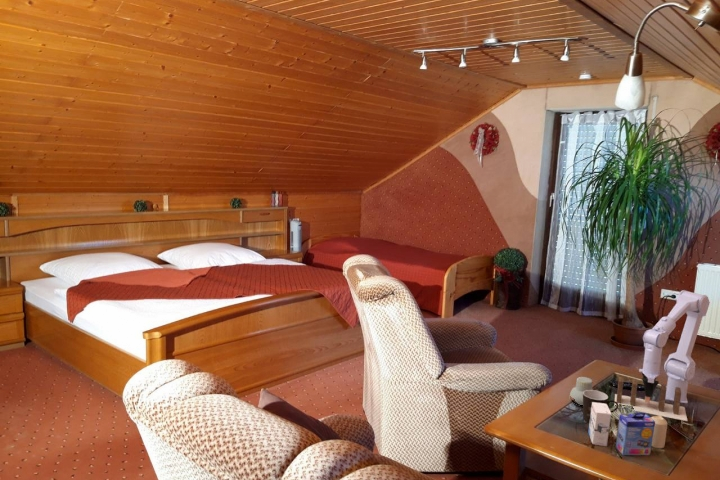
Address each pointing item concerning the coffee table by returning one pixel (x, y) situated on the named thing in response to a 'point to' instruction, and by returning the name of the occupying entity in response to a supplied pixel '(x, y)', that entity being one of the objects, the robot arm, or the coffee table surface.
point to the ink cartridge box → (635, 434)
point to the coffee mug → (596, 397)
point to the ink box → (599, 423)
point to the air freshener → (581, 389)
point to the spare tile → (647, 399)
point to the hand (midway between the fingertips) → (648, 393)
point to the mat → (653, 408)
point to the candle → (659, 432)
